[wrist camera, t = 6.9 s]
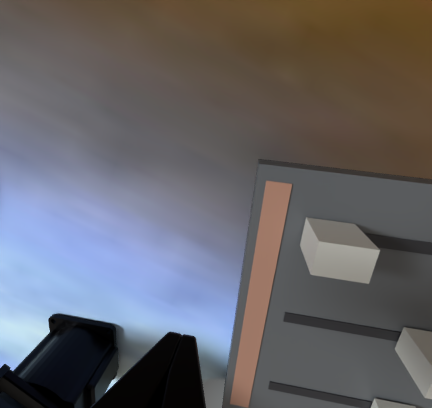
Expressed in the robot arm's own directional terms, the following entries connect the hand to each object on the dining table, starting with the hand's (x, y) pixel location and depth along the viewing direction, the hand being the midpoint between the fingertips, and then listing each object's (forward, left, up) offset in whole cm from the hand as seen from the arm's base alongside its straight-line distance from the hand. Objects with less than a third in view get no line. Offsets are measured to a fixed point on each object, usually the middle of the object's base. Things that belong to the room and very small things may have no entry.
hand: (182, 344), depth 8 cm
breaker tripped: (+7, 0, -10) cm, 12 cm away
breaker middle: (+15, -7, -10) cm, 19 cm away
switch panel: (+11, -7, -13) cm, 18 cm away
